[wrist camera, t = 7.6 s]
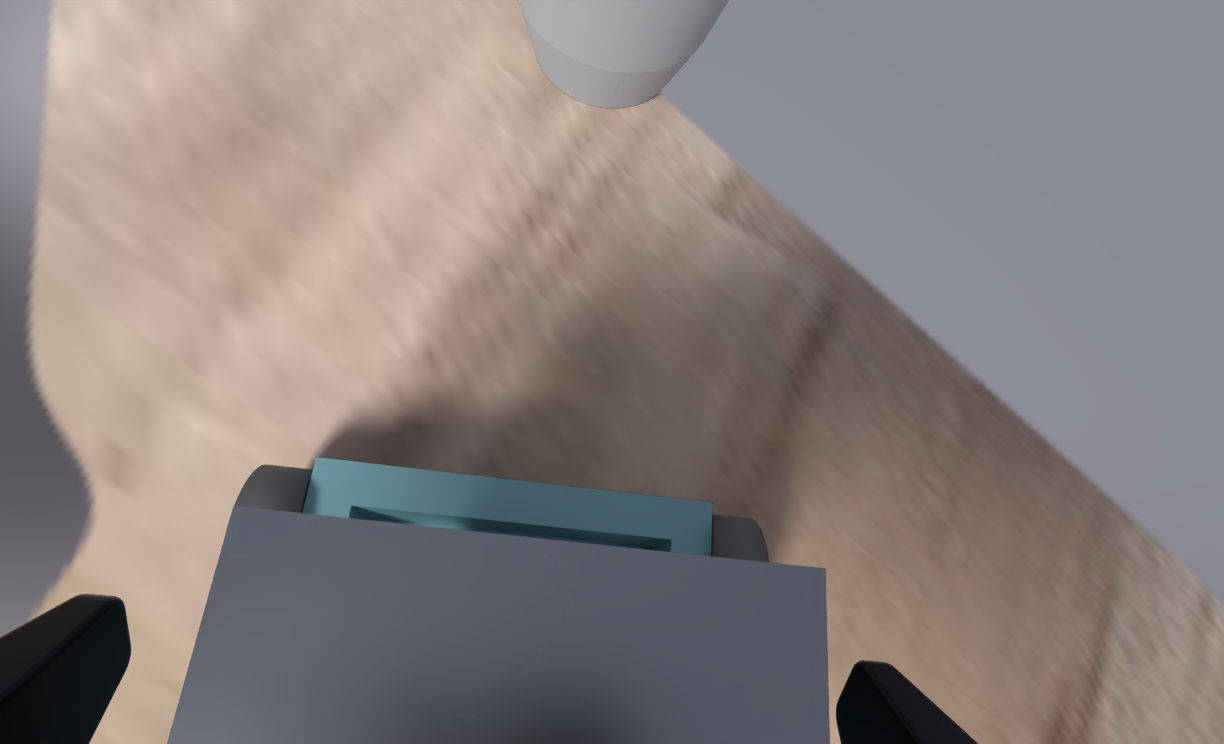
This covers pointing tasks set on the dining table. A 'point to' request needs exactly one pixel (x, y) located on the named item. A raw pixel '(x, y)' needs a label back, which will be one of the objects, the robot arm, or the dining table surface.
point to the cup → (616, 44)
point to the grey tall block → (497, 641)
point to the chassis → (503, 507)
